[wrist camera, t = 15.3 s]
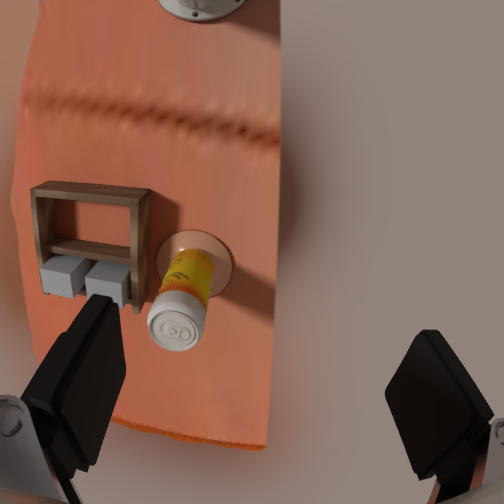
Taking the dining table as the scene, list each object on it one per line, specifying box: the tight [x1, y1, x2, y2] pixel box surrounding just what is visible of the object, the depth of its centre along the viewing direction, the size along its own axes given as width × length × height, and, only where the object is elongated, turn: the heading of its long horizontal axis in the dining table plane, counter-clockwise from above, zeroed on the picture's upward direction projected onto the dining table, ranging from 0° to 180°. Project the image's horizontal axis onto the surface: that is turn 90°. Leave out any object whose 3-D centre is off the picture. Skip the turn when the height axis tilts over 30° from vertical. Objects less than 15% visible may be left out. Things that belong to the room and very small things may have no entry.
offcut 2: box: [85, 260, 131, 309], centre depth 42 cm, size 4×6×7 cm
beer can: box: [147, 249, 214, 351], centre depth 37 cm, size 6×6×15 cm
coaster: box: [156, 230, 232, 298], centre depth 44 cm, size 11×11×1 cm
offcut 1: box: [40, 253, 91, 298], centre depth 41 cm, size 4×6×7 cm
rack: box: [30, 181, 150, 314], centre depth 40 cm, size 17×17×5 cm
